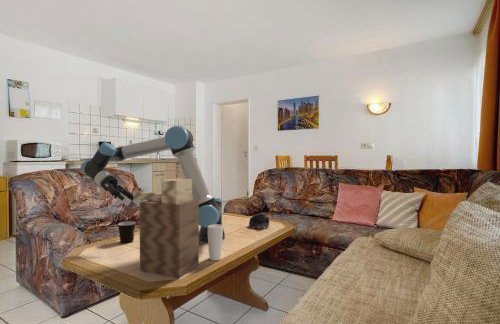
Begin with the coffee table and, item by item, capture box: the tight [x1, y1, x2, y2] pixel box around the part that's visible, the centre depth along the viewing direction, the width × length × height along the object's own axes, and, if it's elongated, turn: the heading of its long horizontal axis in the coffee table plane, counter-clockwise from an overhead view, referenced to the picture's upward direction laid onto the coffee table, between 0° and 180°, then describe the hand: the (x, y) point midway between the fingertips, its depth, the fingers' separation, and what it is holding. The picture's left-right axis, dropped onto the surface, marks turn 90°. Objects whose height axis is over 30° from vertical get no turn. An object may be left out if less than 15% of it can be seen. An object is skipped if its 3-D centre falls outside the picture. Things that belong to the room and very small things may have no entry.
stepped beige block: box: [132, 178, 193, 204], centre depth 117 cm, size 25×11×9 cm, turn 70°
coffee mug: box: [117, 221, 136, 245], centre depth 151 cm, size 12×9×10 cm
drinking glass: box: [207, 224, 224, 262], centre depth 126 cm, size 7×7×15 cm
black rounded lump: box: [248, 212, 270, 229], centre depth 184 cm, size 13×14×10 cm
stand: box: [139, 199, 200, 279], centre depth 115 cm, size 19×14×28 cm
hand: (136, 205), depth 136 cm, fingers open, 13 cm apart
